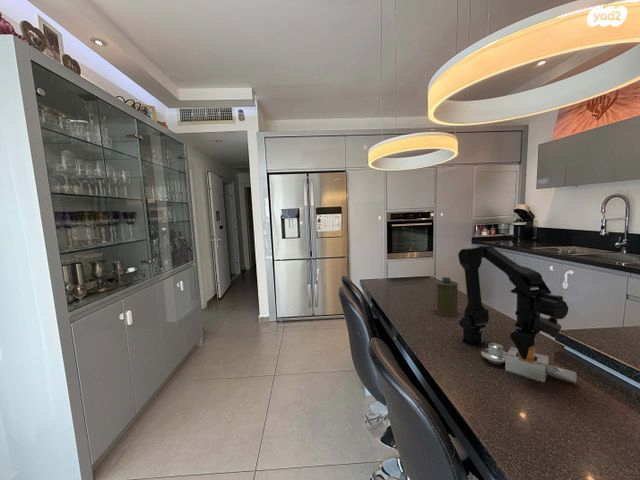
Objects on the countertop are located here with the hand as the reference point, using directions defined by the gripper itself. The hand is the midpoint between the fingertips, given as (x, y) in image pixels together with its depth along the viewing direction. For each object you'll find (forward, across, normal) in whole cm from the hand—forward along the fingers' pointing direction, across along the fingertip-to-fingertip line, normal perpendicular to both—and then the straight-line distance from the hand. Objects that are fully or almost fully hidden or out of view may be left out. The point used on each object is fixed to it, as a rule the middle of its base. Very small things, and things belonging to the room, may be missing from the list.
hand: (526, 353), depth 91 cm
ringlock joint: (+6, 0, 0) cm, 6 cm away
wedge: (+6, 0, 0) cm, 6 cm away
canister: (+6, +39, +40) cm, 56 cm away
